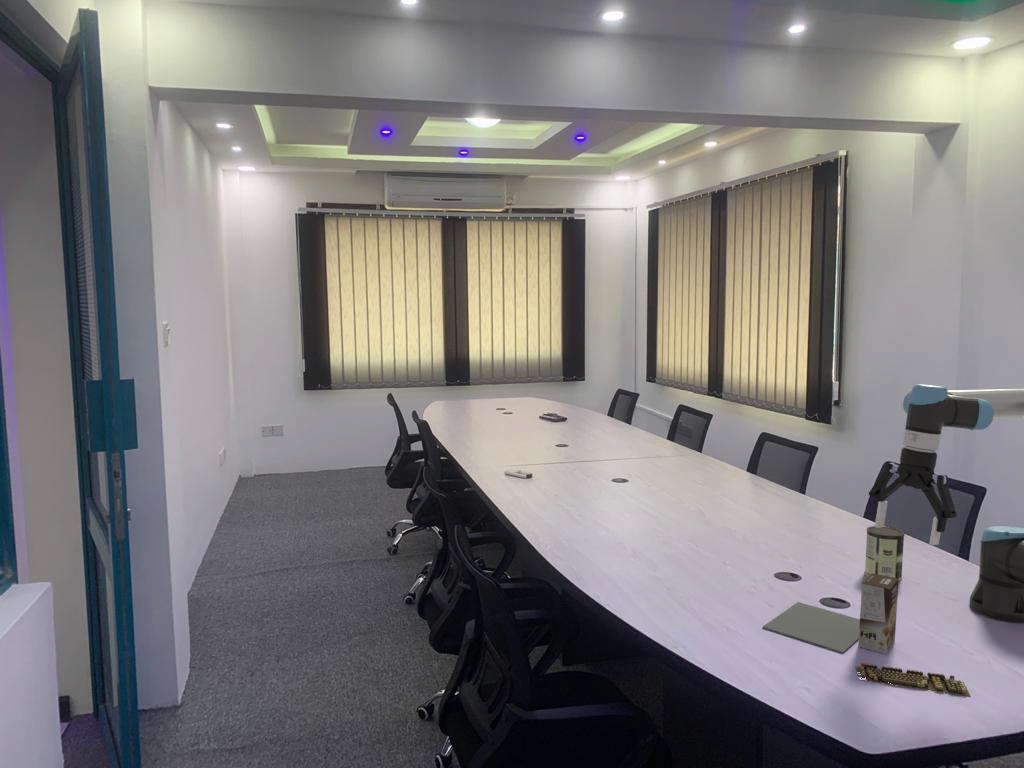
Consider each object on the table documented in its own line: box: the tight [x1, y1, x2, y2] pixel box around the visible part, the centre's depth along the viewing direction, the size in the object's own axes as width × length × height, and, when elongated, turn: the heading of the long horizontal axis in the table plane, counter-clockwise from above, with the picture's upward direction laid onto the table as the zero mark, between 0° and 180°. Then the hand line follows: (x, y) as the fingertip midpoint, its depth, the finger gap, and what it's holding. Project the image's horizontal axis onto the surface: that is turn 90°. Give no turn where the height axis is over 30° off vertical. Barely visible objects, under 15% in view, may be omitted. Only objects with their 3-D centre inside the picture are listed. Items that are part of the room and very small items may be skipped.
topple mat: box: [762, 601, 860, 654], centre depth 189 cm, size 20×22×1 cm
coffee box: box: [857, 573, 900, 655], centre depth 179 cm, size 9×6×16 cm
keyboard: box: [855, 662, 971, 698], centre depth 162 cm, size 22×9×2 cm, turn 71°
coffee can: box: [864, 525, 905, 581], centre depth 224 cm, size 10×10×14 cm
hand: (905, 535), depth 178 cm, fingers open, 13 cm apart
